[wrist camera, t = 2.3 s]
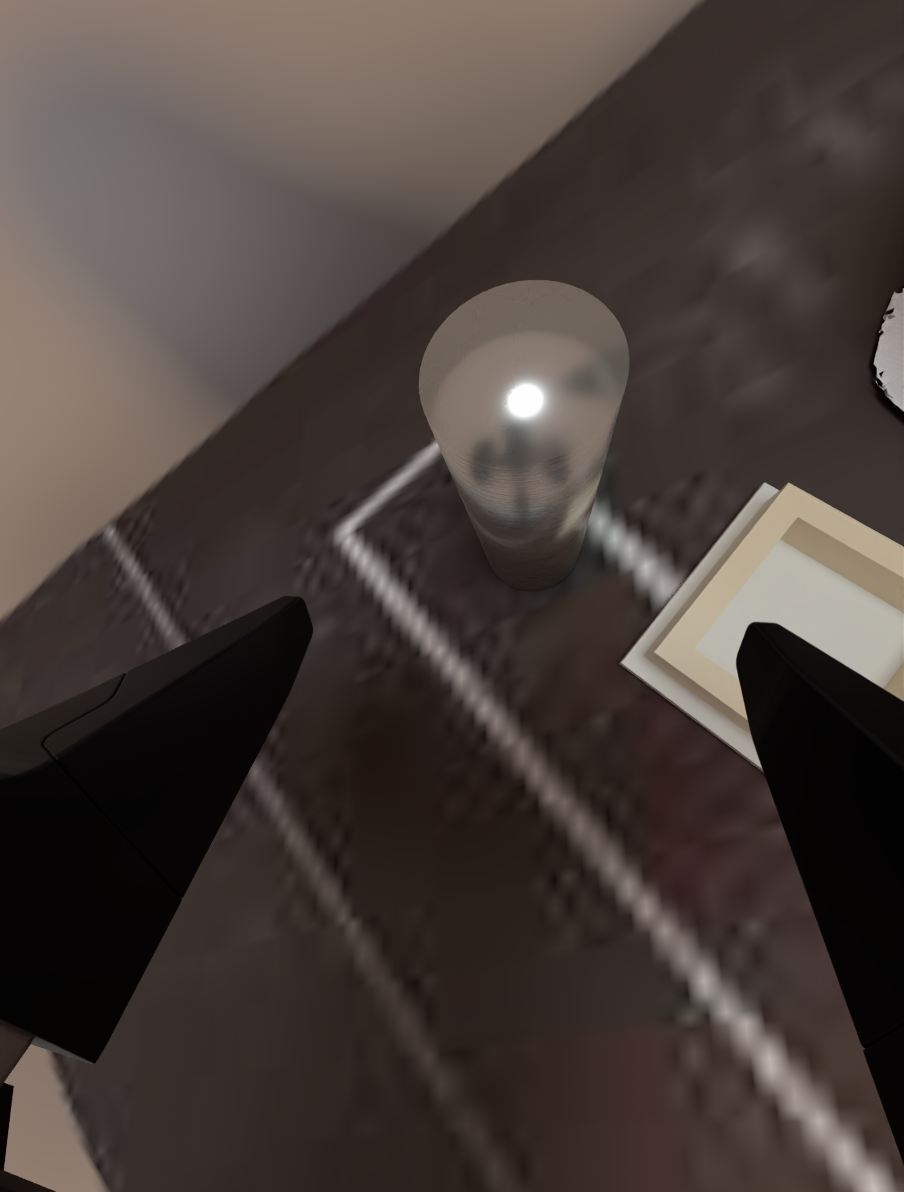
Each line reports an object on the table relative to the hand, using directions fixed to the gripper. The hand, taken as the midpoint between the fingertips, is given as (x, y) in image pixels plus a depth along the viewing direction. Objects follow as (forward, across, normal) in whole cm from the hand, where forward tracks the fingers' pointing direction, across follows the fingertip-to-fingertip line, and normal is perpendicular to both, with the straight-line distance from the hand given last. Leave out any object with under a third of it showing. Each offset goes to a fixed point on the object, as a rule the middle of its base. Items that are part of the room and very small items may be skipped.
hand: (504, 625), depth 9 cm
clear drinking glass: (+12, 0, +5) cm, 13 cm away
